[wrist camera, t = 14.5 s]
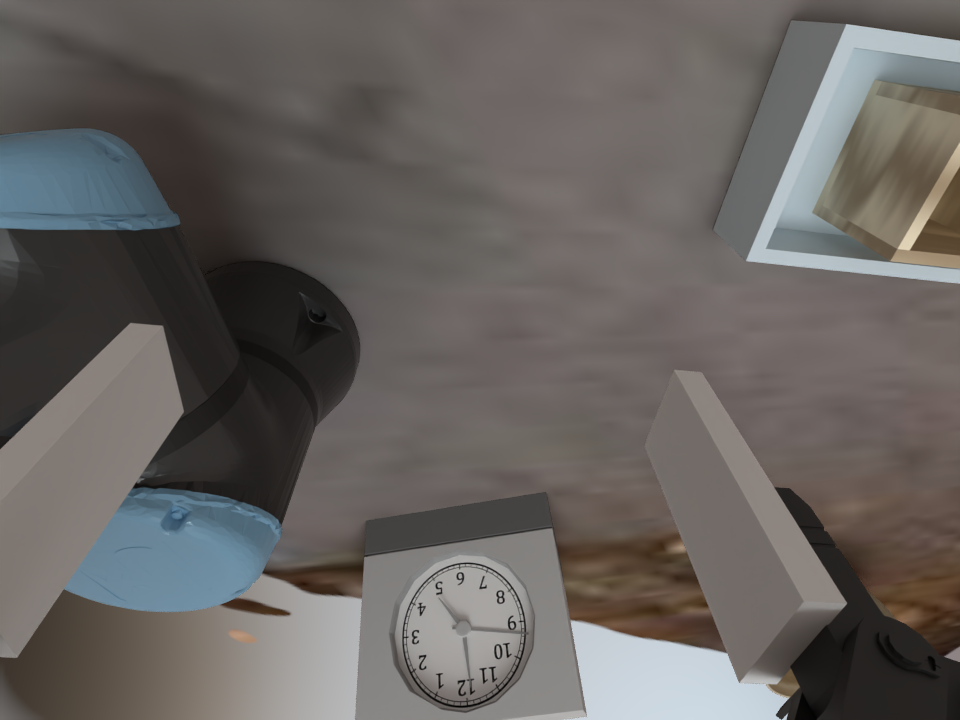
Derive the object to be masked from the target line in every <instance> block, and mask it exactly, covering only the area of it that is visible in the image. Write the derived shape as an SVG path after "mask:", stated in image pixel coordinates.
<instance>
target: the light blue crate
mask: <svg viewBox="0 0 960 720" xmlns="http://www.w3.org/2000/svg"><path fill="white" fill-rule="evenodd" d="M874 80H880V81H887V82H895V83H902V84H910V85H917V86H925V87H932V88H939V89H947V90H954V91H960V41H958V40H951V39H944V38H938V37H931V36H924V35H917V34H910V33H904V32H897V31H890V30H883V29H876V28H869V27H863V26H856V25H849V24H838V23H823V22H809V21H795V20H791V22H790V25H789V27H788V30H787V33H786V35H785V38H784V41H783V43H782V46H781V49H780V51H779V54H778V57H777V59H776V62H775V65H774V67H773V70H772V73H771V76H770V78H769V81H768V84H767V86H766V89H765V92H764V94H763V97H762V100H761V102H760V105H759V108H758V110H757V113H756V116H755V118H754V121H753V124H752V126H751V129H750V132H749V134H748V137H747V140H746V142H745V145H744V148H743V150H742V153H741V156H740V158H739V161H738V164H737V166H736V169H735V172H734V174H733V177H732V180H731V182H730V185H729V188H728V191H727V193H726V196H725V199H724V201H723V204H722V207H721V209H720V212H719V215H718V217H717V220H716V223H715V225H714V228H713V231H714V232H716V233H717V234H718V235H719V236H720V237H721V238H722V239H723V240H724V241H725V242H726V243H727V244H728V245H729V246H730V247H732V248H733V249H734V250H735V251H736V252H737V253H738V254H739V255H740V256H741V257H742V258H743V259H744V260H745V261H751V262H760V263H770V264H779V265H789V266H798V267H808V268H817V269H827V270H836V271H846V272H855V273H865V274H874V275H884V276H893V277H903V278H912V279H922V280H931V281H941V282H950V283H960V269H959V268H950V267H940V266H931V265H921V264H911V263H902V262H892V261H889V260H887V259H886V258H884V257H883V256H881V255H879V254H878V253H876V252H875V251H873V250H871V249H870V248H868V247H866V246H865V245H863V244H862V243H860V242H858V241H857V240H855V239H854V238H852V237H850V236H849V235H847V234H846V233H844V232H842V231H841V230H839V229H837V228H836V227H834V226H833V225H831V224H829V223H828V222H826V221H825V220H823V219H821V218H820V217H818V216H817V215H815V214H813V213H812V212H813V209H814V207H815V205H816V203H817V201H818V199H819V197H820V195H821V192H822V190H823V188H824V186H825V184H826V182H827V180H828V177H829V175H830V173H831V171H832V169H833V167H834V165H835V163H836V160H837V158H838V156H839V154H840V152H841V150H842V148H843V145H844V143H845V141H846V139H847V137H848V135H849V133H850V131H851V128H852V126H853V124H854V122H855V120H856V118H857V116H858V113H859V111H860V109H861V107H862V105H863V103H864V101H865V99H866V96H867V94H868V92H869V90H870V88H871V86H872V84H873V82H874Z"/></svg>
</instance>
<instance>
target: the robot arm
mask: <svg viewBox="0 0 960 720" xmlns="http://www.w3.org/2000/svg"><path fill="white" fill-rule="evenodd" d="M179 224H181V223H180V220H179V216H178V215H177V213H175V212H173V211H171V210H170V208H169V207H168V205H167V203H166V201H165V200H164V198H163V196H162V194H161V193H160V191H159V189H158V187H157V185H156V184H155V182H154V180H153V178H152V177H151V175H150V173H149V171H148V170H147V168H146V166H145V164H144V162H143V161H142V159H141V158H140V156H139V155H138V153H137V152H136V151H135V150H134V149H133V148H132V147H131V146H130V145H129V144H128V143H126V142H125V141H124V140H122V139H120V138H119V137H117V136H115V135H113V134H110V133H108V132H105V131H101V130H97V129H89V128H76V129H58V130H45V131H33V132H22V133H12V134H3V135H0V657H18V655H19V654H20V652H21V651H22V649H23V648H24V646H25V645H26V644H27V642H28V640H29V639H30V638H31V636H32V635H33V633H34V632H35V630H36V629H37V627H38V626H39V624H40V623H41V621H42V620H43V619H44V617H45V616H46V614H47V613H48V611H49V610H50V608H51V606H52V605H53V604H54V602H55V601H56V599H57V598H58V596H59V595H60V594H61V592H62V591H63V589H65V590H67V591H69V592H71V593H74V594H77V595H79V596H82V597H84V598H87V599H90V600H93V601H97V602H100V603H104V604H108V605H112V606H118V607H124V608H127V609H133V610H141V611H153V612H182V611H192V610H199V609H204V608H209V607H213V606H216V605H220V604H223V603H226V602H228V601H230V600H232V599H234V598H236V597H238V596H239V595H241V594H242V593H244V592H245V591H247V590H248V589H249V588H250V587H251V585H252V584H253V583H254V582H255V581H256V580H257V579H258V578H259V577H260V575H261V574H262V572H263V570H264V568H265V565H266V563H267V561H268V559H269V557H270V555H271V553H272V551H273V549H274V547H275V544H276V543H277V542H278V541H279V539H280V537H281V534H282V530H283V529H282V528H281V527H282V523H283V520H284V517H285V514H286V511H287V508H288V505H289V502H290V499H291V497H292V494H293V491H294V488H295V485H296V482H297V479H298V476H299V473H300V470H301V467H302V465H303V462H304V459H305V456H306V453H307V450H308V447H309V444H310V441H311V438H312V435H313V432H314V429H315V427H316V426H317V425H318V424H319V423H320V422H321V421H322V420H323V419H324V418H325V417H326V416H327V415H328V414H329V413H330V412H331V411H332V410H333V408H334V407H336V406H337V405H338V404H339V403H340V402H341V401H342V399H343V398H344V397H345V395H346V394H347V392H348V391H349V389H350V387H351V385H352V383H353V380H354V377H355V374H356V370H357V367H358V363H359V358H360V343H359V337H358V333H357V330H356V327H355V325H354V322H353V320H352V318H351V316H350V315H349V313H348V311H347V310H346V309H345V307H344V306H343V305H342V303H341V302H340V301H339V300H338V299H337V298H336V297H335V296H334V295H333V294H332V293H331V292H330V291H329V290H328V289H327V288H325V287H324V286H323V285H321V284H320V283H319V282H317V281H315V280H314V279H312V278H310V277H309V276H307V275H305V274H303V273H301V272H298V271H296V270H293V269H291V268H288V267H284V266H281V265H276V264H271V263H264V262H241V263H235V264H230V265H227V266H223V267H221V268H218V269H216V270H214V271H212V272H210V273H208V274H207V275H205V276H203V274H202V272H201V270H200V268H199V266H198V264H197V262H196V260H195V258H194V256H193V254H192V252H191V250H190V248H189V246H188V244H187V242H186V240H185V238H184V236H183V234H182V232H181V230H180V228H179V226H178V225H179ZM644 446H645V448H646V451H647V453H648V456H649V458H650V461H651V463H652V466H653V468H654V471H655V473H656V476H657V478H658V481H659V483H660V486H661V488H662V491H663V493H664V496H665V498H666V501H667V503H668V506H669V508H670V511H671V513H672V516H673V518H674V521H675V523H676V526H677V528H678V531H679V533H680V536H681V538H682V541H683V543H684V546H685V548H686V551H687V553H688V556H689V558H690V561H691V563H692V566H693V568H694V571H695V573H696V576H697V578H698V581H699V583H700V586H701V588H702V591H703V593H704V596H705V598H706V601H707V603H708V606H709V608H710V611H711V613H712V616H713V618H714V621H715V623H716V626H717V628H718V631H719V633H720V636H721V638H722V641H723V643H724V646H725V648H726V651H727V653H728V656H729V658H730V661H731V663H732V666H733V668H734V671H735V673H736V676H737V678H738V681H739V683H752V684H778V682H779V681H780V680H781V679H782V678H783V677H784V675H785V674H786V673H787V672H788V671H789V670H790V669H791V670H792V672H793V674H794V676H795V678H796V680H797V682H798V684H799V686H800V687H799V688H798V690H797V691H796V692H795V693H794V694H793V695H792V696H791V697H790V698H789V699H788V700H787V701H786V703H785V704H784V705H783V706H782V707H781V708H780V710H779V711H778V713H777V714H776V716H777V717H779V718H780V719H781V720H782V719H783V718H784V716H786V714H787V713H788V712H789V713H788V716H787V720H960V662H957V661H954V660H951V659H948V658H946V657H943V656H940V655H938V654H937V652H936V650H935V649H934V648H933V647H932V646H931V645H930V644H929V643H928V642H927V641H926V640H925V639H924V638H923V637H922V636H921V635H920V634H919V633H917V632H916V631H914V630H913V629H912V628H910V627H909V626H907V625H906V624H904V623H902V622H900V621H898V620H895V619H893V618H891V617H888V616H884V614H883V613H882V612H881V611H880V609H879V608H878V606H877V605H876V603H875V602H874V600H873V599H872V597H871V596H870V594H869V593H868V591H867V590H866V589H865V587H864V586H863V584H862V583H861V581H860V580H859V578H858V577H857V575H856V574H855V572H854V571H853V569H852V568H851V566H850V565H849V563H848V562H847V560H846V559H845V557H844V556H843V555H842V553H841V552H840V550H839V549H836V547H835V545H836V544H835V543H834V541H833V540H832V538H831V537H830V535H829V534H828V532H827V531H824V526H823V525H822V524H821V522H820V521H819V519H818V518H817V516H816V515H815V513H814V512H813V510H812V509H811V507H810V506H809V505H808V504H806V503H805V502H804V501H803V500H802V499H801V498H800V497H799V496H797V495H796V494H795V493H794V492H793V491H792V490H791V489H790V488H777V487H773V485H772V483H771V482H770V480H769V479H768V477H767V476H766V474H765V472H764V471H763V469H762V468H761V466H760V464H759V463H758V461H757V460H756V458H755V456H754V455H753V453H752V452H751V450H750V449H749V447H748V445H747V444H746V442H745V441H744V439H743V437H742V436H741V434H740V433H739V431H738V429H737V428H736V426H735V425H734V423H733V422H732V420H731V418H730V417H729V415H728V414H727V412H726V410H725V409H724V407H723V406H722V404H721V402H720V401H719V399H718V398H717V396H716V395H715V393H714V391H713V390H712V388H711V387H710V385H709V383H708V382H707V380H706V379H705V377H704V376H703V374H702V372H693V371H681V370H674V371H673V374H672V376H671V379H670V382H669V384H668V387H667V389H666V392H665V394H664V397H663V399H662V402H661V405H660V407H659V410H658V412H657V415H656V417H655V420H654V422H653V425H652V428H651V430H650V433H649V435H648V438H647V440H646V443H645V445H644Z"/></svg>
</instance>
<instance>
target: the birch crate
mask: <svg viewBox="0 0 960 720" xmlns="http://www.w3.org/2000/svg"><path fill="white" fill-rule="evenodd" d="M812 213H813V214H815V215H817V216H818V217H820V218H821V219H823V220H825V221H826V222H828V223H829V224H831V225H833V226H834V227H836V228H837V229H839V230H841V231H842V232H844V233H846V234H847V235H849V236H850V237H852V238H854V239H855V240H857V241H858V242H860V243H862V244H863V245H865V246H866V247H868V248H870V249H871V250H873V251H875V252H876V253H878V254H879V255H881V256H883V257H884V258H886V259H887V260H889V261H892V262H902V263H911V264H921V265H931V266H940V267H950V268H959V269H960V91H954V90H947V89H939V88H932V87H925V86H917V85H910V84H902V83H895V82H887V81H880V80H874V82H873V84H872V86H871V88H870V90H869V92H868V94H867V96H866V99H865V101H864V103H863V105H862V107H861V109H860V111H859V113H858V116H857V118H856V120H855V122H854V124H853V126H852V128H851V131H850V133H849V135H848V137H847V139H846V141H845V143H844V145H843V148H842V150H841V152H840V154H839V156H838V158H837V160H836V163H835V165H834V167H833V169H832V171H831V173H830V175H829V177H828V180H827V182H826V184H825V186H824V188H823V190H822V192H821V195H820V197H819V199H818V201H817V203H816V205H815V207H814V209H813V212H812Z"/></svg>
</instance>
